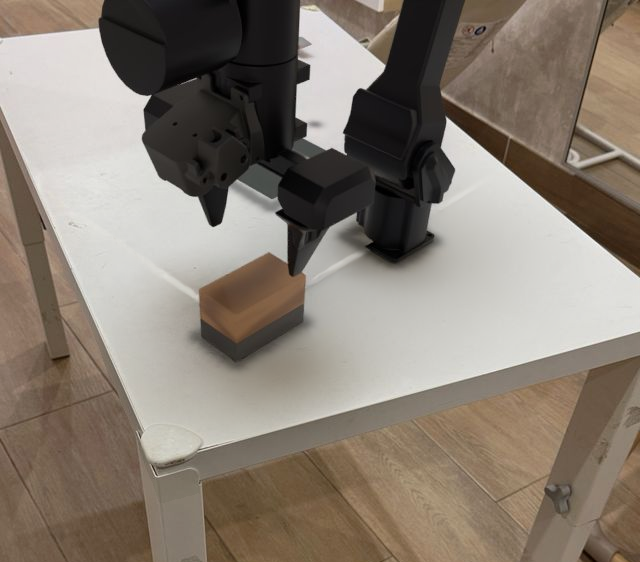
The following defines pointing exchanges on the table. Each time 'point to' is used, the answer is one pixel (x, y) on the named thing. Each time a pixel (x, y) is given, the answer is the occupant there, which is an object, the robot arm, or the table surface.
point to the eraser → (251, 306)
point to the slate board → (269, 181)
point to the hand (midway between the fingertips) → (254, 248)
